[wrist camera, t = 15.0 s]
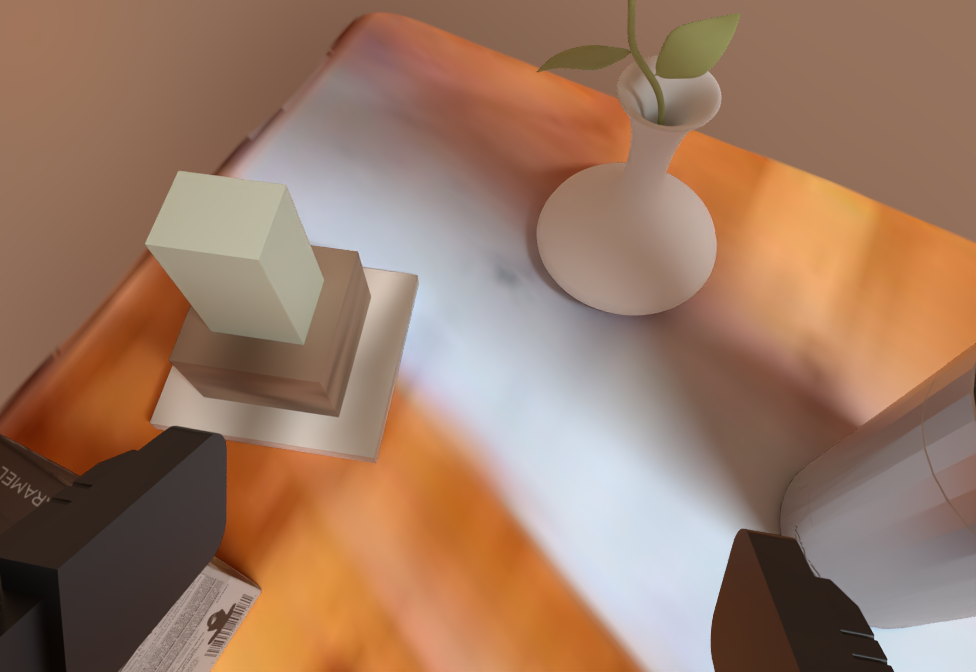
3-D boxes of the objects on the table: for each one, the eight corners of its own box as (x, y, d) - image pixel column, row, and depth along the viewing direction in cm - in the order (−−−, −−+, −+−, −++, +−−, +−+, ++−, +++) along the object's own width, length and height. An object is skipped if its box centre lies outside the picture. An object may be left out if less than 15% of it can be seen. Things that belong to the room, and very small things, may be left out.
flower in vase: (705, 189, 49) (886, -239, 26) (714, 335, 43) (949, -43, 21) (516, 175, 49) (537, -254, 27) (503, 318, 44) (515, -67, 22)
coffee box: (51, 611, 36) (-234, 557, 22) (136, 503, 39) (-70, 391, 25) (191, 709, 34) (-23, 718, 20) (270, 587, 37) (131, 519, 23)
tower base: (418, 283, 45) (409, 228, 40) (376, 463, 40) (358, 426, 34) (224, 257, 46) (189, 199, 41) (157, 429, 41) (106, 388, 35)
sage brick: (324, 279, 38) (286, 184, 31) (303, 345, 37) (258, 259, 29) (235, 267, 39) (178, 170, 32) (211, 331, 37) (144, 244, 30)
